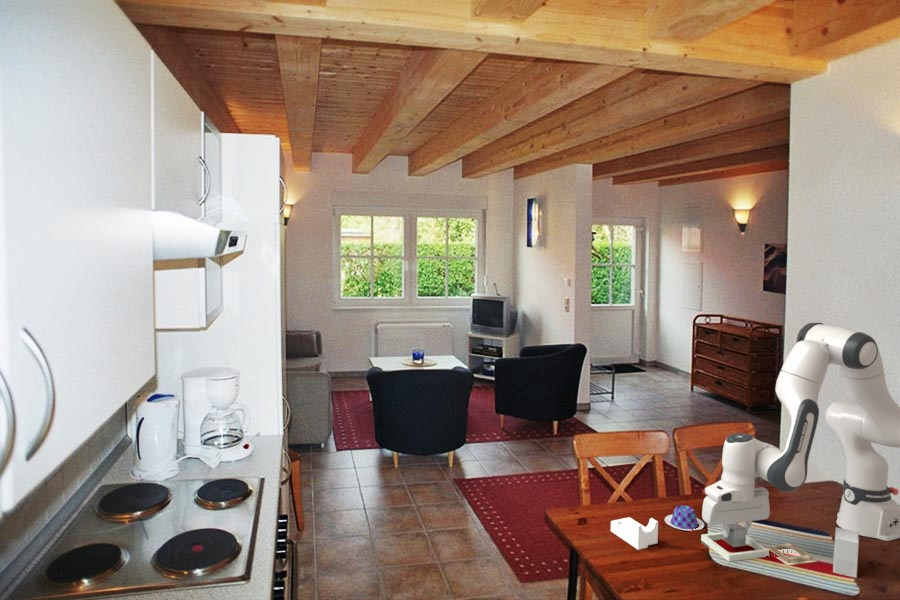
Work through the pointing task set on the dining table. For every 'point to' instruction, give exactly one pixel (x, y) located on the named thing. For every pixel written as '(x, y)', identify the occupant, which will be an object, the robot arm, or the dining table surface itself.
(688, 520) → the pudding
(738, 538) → the gray block
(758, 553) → the tray
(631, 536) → the bracket
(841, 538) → the small box
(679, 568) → the dining table surface
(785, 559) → the socket holder
